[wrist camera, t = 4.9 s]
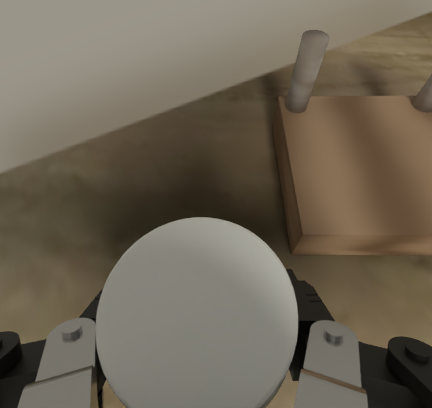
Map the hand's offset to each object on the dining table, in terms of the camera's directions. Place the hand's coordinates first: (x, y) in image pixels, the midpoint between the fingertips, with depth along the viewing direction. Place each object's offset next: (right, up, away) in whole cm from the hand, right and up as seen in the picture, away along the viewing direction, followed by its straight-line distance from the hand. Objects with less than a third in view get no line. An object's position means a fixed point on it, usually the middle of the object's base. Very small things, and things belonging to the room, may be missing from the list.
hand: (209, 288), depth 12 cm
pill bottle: (0, -4, +3) cm, 5 cm away
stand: (+11, +6, +8) cm, 15 cm away
